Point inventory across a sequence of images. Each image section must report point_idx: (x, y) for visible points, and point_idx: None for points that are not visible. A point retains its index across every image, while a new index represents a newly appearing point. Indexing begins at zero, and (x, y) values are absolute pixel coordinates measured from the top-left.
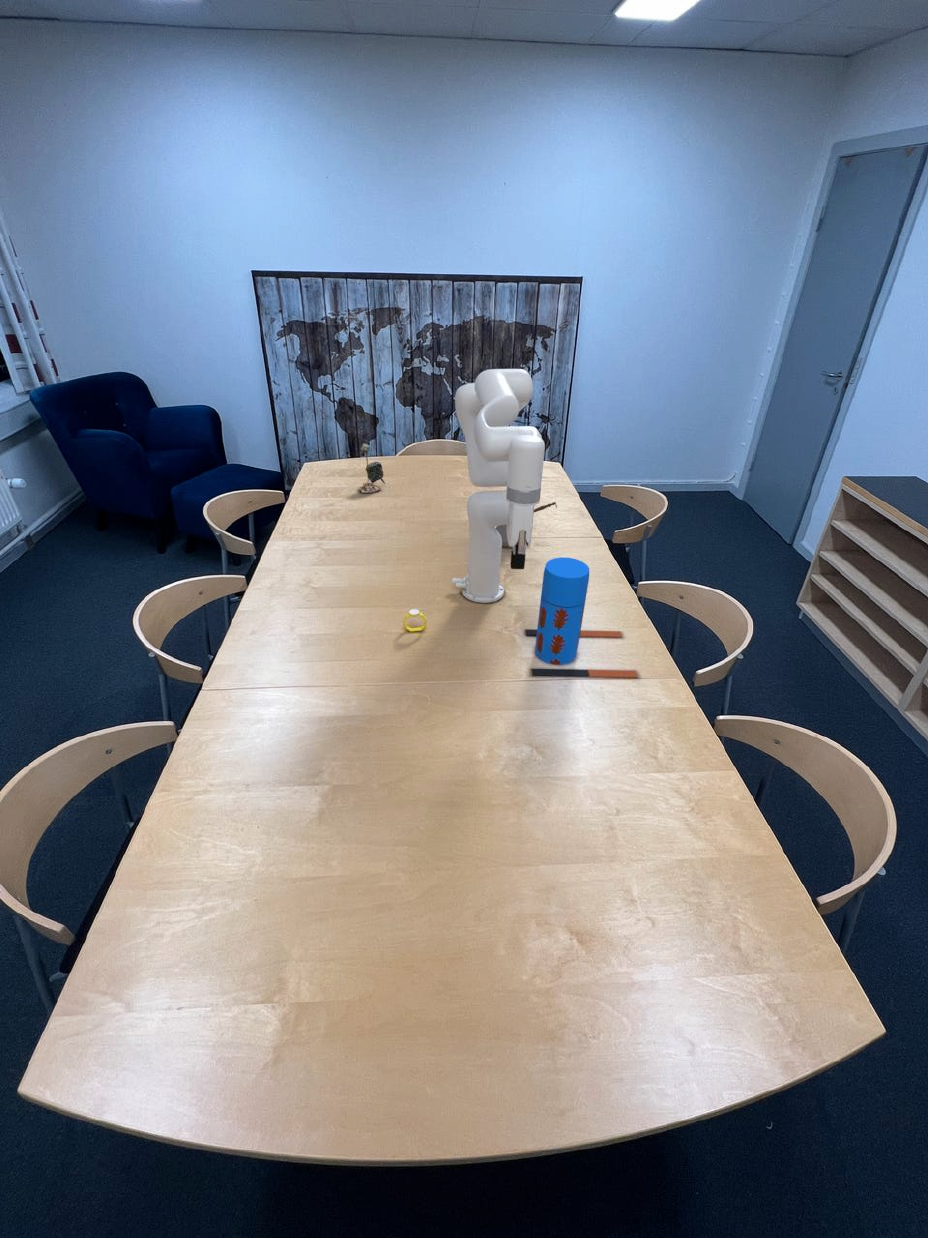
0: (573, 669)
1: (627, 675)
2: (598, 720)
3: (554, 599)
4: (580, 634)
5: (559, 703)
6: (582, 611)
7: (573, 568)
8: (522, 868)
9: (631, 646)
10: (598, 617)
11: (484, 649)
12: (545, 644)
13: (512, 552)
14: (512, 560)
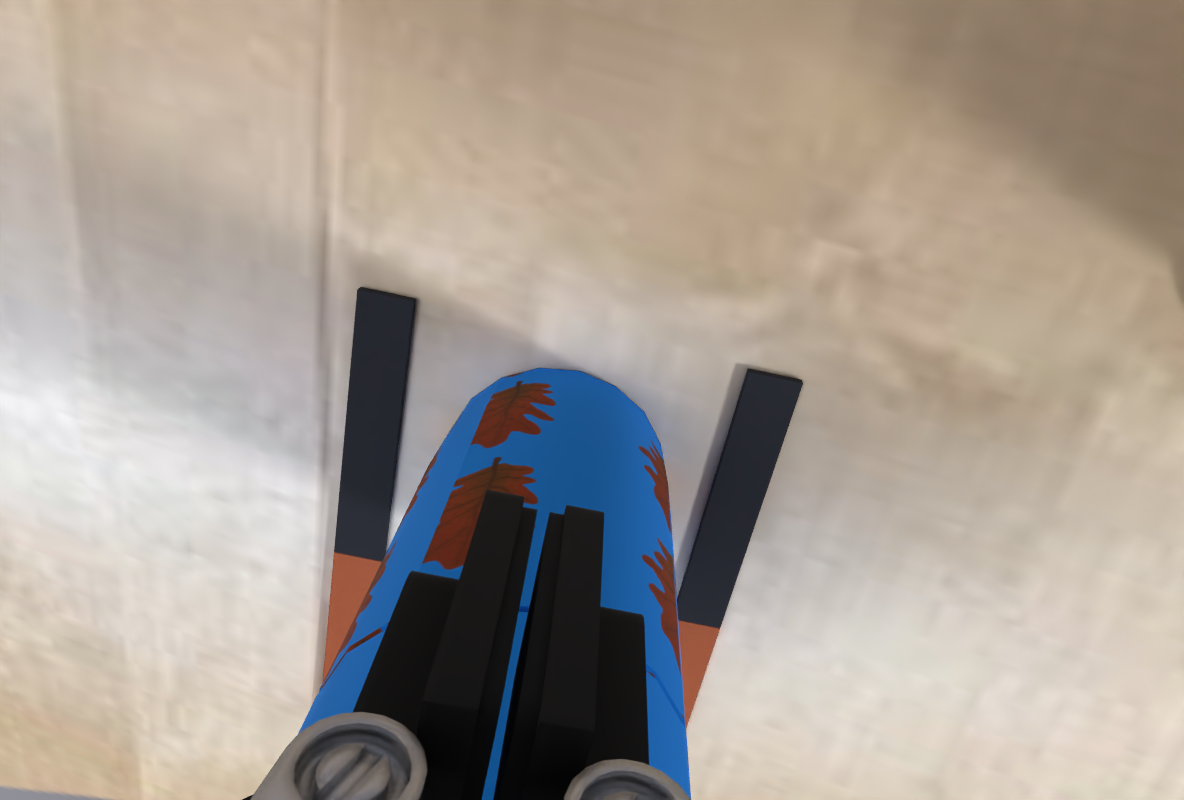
0: (389, 502)
1: None
2: (27, 474)
3: (331, 691)
4: (680, 633)
5: (135, 349)
6: None
7: None
8: None
9: None
10: (815, 754)
11: (662, 63)
12: (462, 434)
13: (538, 724)
14: (453, 600)
